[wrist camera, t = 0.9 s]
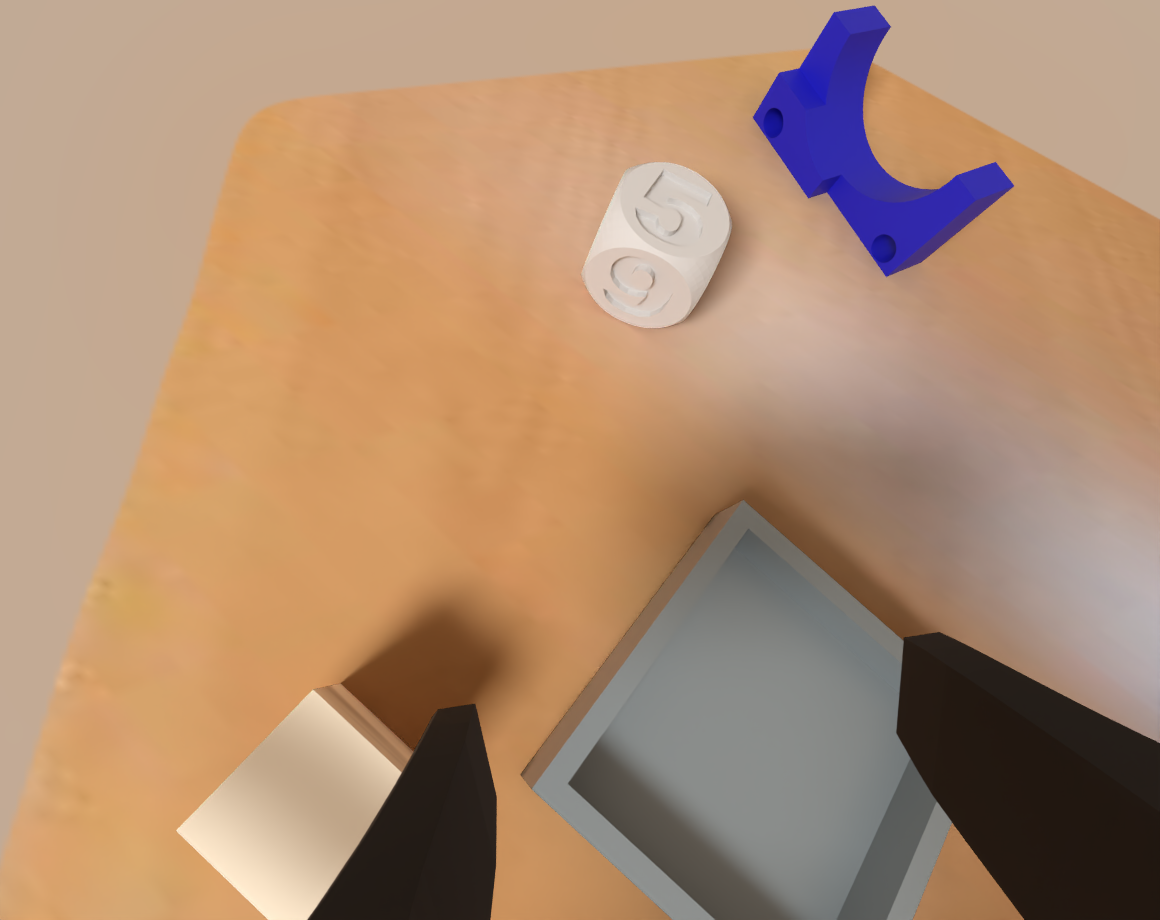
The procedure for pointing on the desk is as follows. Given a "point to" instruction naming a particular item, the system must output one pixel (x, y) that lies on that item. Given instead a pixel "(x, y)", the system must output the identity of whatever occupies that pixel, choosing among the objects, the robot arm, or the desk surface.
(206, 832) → the block
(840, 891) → the tray
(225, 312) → the desk surface
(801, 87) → the blue curved piece
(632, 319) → the die
